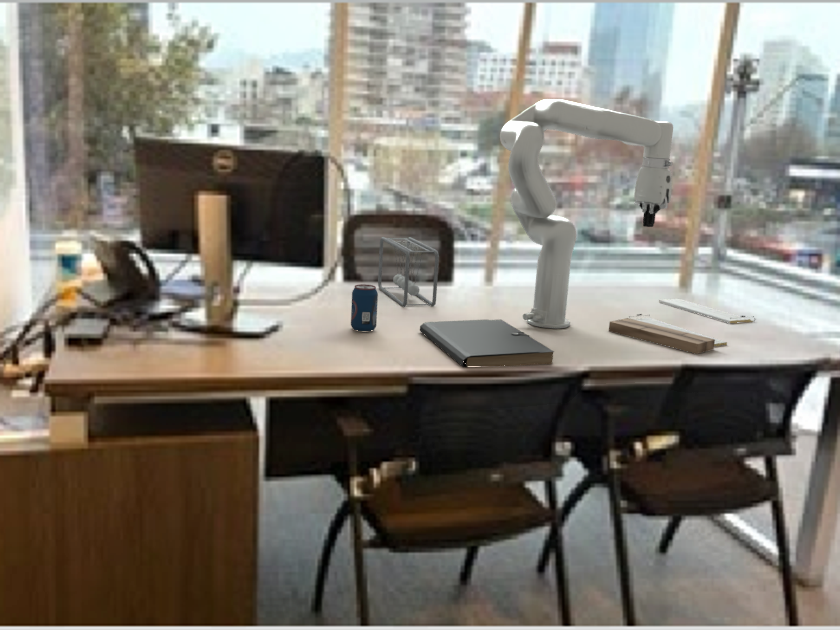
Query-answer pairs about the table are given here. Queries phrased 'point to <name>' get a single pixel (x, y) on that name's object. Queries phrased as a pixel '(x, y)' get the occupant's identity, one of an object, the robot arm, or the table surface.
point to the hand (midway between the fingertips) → (648, 226)
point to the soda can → (364, 307)
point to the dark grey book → (487, 343)
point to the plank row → (662, 335)
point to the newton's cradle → (407, 271)
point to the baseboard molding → (705, 310)
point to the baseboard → (677, 328)
